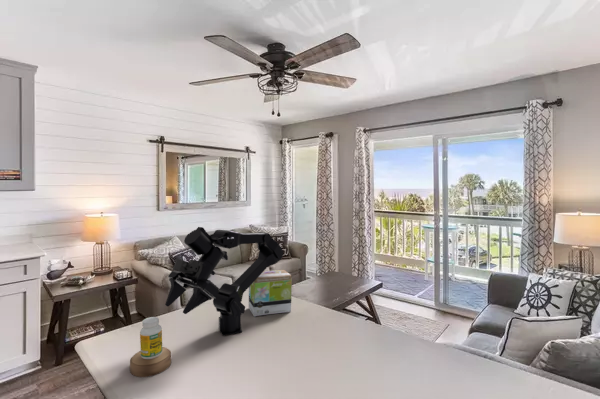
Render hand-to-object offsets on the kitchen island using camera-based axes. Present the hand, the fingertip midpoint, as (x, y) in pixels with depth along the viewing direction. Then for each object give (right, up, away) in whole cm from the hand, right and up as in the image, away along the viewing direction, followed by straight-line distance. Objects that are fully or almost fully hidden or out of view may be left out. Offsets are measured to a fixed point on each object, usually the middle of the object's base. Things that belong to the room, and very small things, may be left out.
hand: (174, 309), depth 91 cm
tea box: (+24, -13, +35) cm, 44 cm away
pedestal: (-4, -13, -5) cm, 15 cm away
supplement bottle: (-4, -11, -5) cm, 13 cm away
